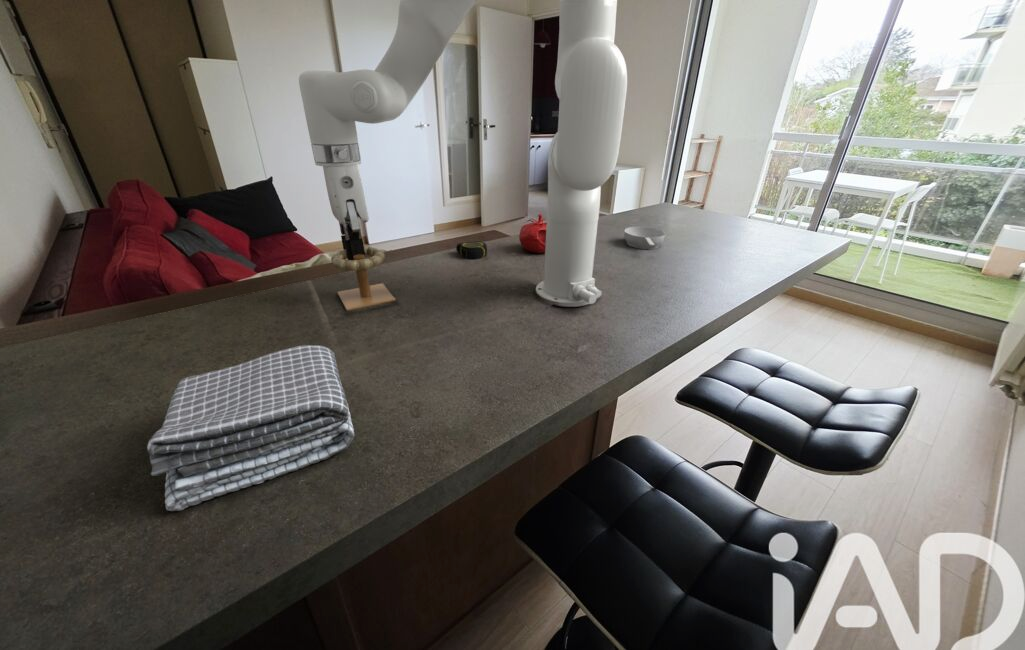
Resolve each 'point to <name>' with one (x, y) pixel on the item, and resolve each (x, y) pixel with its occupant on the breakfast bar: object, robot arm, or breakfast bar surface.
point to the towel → (250, 424)
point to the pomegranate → (534, 236)
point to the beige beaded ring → (371, 262)
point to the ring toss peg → (364, 291)
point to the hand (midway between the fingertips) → (355, 256)
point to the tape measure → (472, 250)
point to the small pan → (644, 237)
